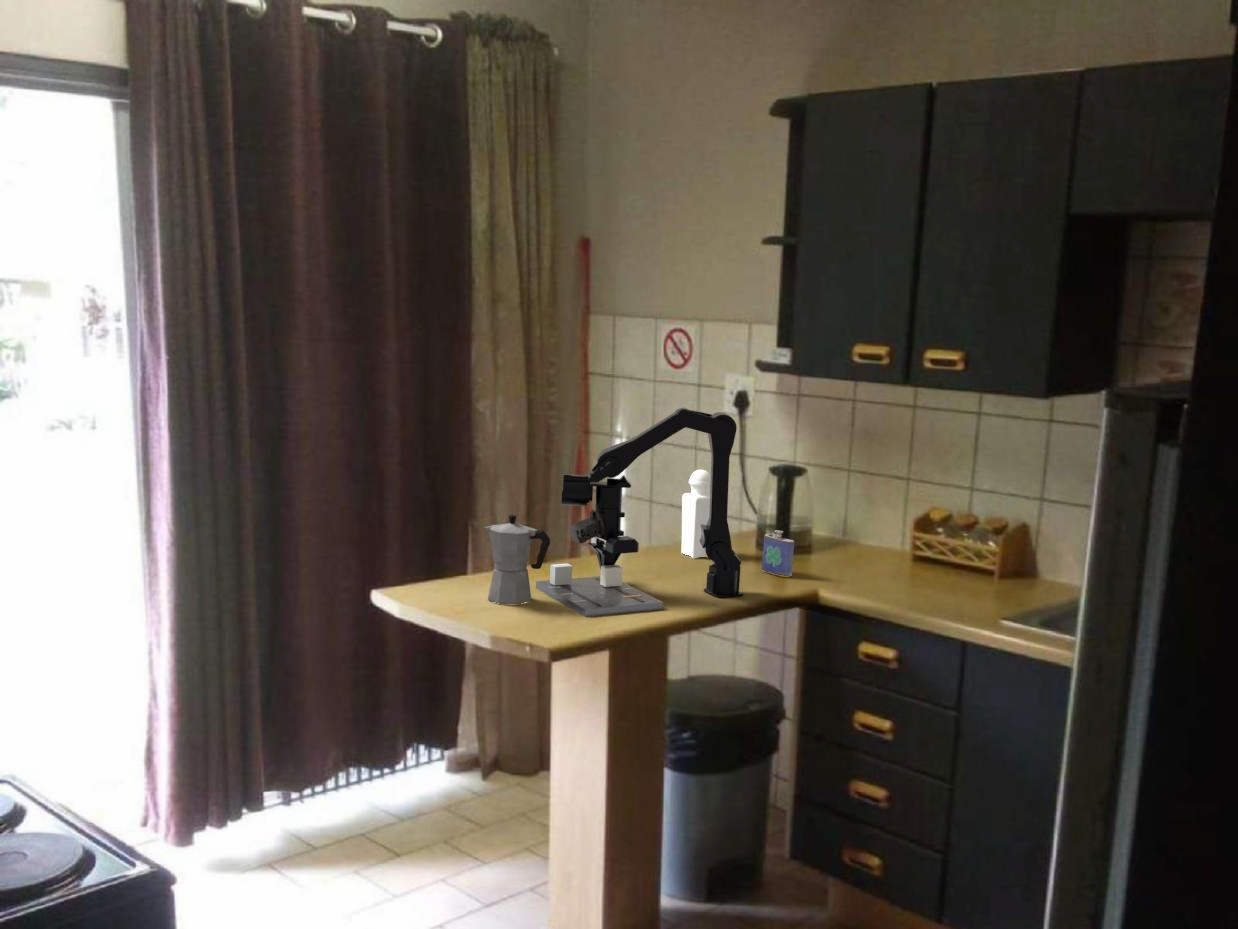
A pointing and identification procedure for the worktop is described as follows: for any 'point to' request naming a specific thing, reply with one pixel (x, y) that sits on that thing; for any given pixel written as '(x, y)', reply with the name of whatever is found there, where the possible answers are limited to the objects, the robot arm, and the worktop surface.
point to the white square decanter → (695, 513)
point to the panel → (599, 597)
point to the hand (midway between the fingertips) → (605, 576)
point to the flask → (777, 554)
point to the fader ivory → (611, 575)
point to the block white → (560, 574)
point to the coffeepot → (513, 560)
